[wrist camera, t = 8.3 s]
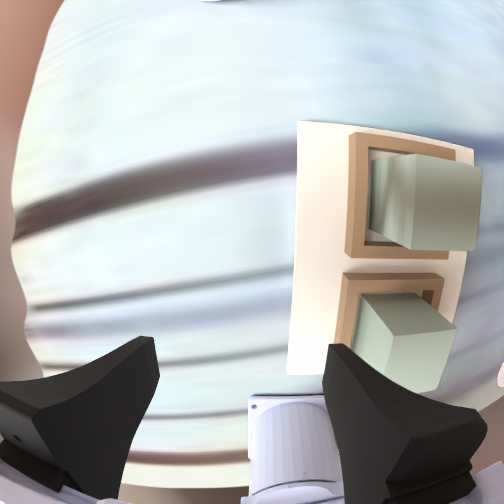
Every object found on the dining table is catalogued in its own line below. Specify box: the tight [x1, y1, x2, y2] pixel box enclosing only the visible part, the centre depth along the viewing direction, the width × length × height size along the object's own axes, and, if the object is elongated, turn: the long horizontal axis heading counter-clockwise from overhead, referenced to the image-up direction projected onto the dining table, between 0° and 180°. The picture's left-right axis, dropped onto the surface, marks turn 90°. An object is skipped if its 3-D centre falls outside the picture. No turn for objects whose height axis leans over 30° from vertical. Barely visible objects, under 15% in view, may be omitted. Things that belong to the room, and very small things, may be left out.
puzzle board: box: [287, 121, 474, 393], centre depth 16 cm, size 18×14×7 cm
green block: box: [369, 154, 482, 252], centre depth 15 cm, size 4×4×6 cm
